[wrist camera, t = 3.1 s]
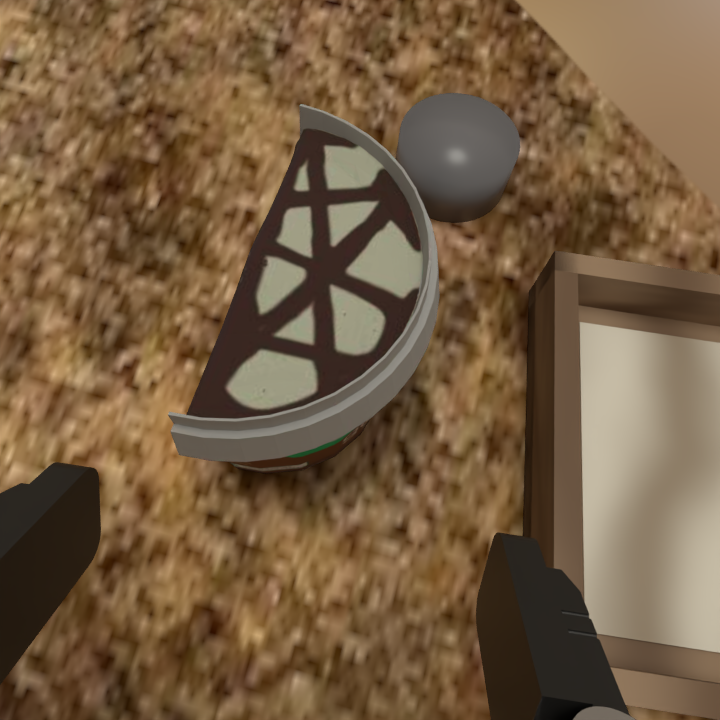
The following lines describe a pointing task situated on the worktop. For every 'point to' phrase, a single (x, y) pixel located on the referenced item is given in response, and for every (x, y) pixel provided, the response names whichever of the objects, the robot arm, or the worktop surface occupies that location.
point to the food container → (319, 309)
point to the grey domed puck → (458, 154)
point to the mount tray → (631, 466)
